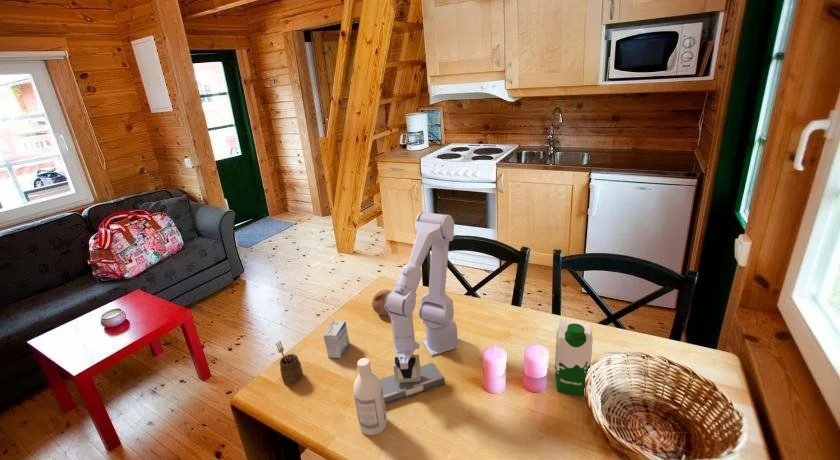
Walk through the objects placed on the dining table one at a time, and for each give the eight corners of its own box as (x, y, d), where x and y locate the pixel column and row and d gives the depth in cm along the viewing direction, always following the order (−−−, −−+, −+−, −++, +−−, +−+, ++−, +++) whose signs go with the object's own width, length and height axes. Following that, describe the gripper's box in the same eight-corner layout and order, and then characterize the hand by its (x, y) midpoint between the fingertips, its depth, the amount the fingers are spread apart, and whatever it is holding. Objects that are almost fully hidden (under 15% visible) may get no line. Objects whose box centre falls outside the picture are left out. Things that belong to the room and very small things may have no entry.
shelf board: (432, 364, 121) (432, 357, 120) (445, 384, 113) (444, 377, 112) (368, 385, 115) (367, 378, 115) (376, 408, 107) (375, 401, 106)
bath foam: (373, 409, 107) (364, 348, 100) (392, 422, 103) (384, 359, 95) (354, 427, 102) (342, 364, 95) (373, 441, 98) (362, 376, 90)
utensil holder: (292, 388, 117) (284, 354, 112) (278, 381, 120) (269, 348, 115) (307, 375, 121) (300, 342, 117) (293, 368, 124) (285, 336, 120)
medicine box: (340, 358, 127) (336, 336, 124) (327, 357, 128) (323, 335, 125) (349, 342, 134) (345, 321, 131) (337, 342, 135) (333, 320, 132)
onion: (382, 325, 147) (372, 310, 140) (374, 307, 154) (364, 292, 147) (405, 311, 148) (395, 296, 141) (396, 294, 155) (386, 279, 148)
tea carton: (396, 372, 117) (394, 355, 114) (420, 371, 116) (419, 354, 114) (395, 383, 113) (393, 366, 110) (420, 381, 112) (418, 364, 110)
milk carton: (553, 393, 107) (557, 331, 100) (554, 370, 115) (558, 311, 108) (588, 400, 105) (595, 336, 97) (587, 375, 112) (593, 315, 105)
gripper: (417, 348, 102) (421, 390, 107) (418, 315, 115) (421, 353, 120) (390, 350, 102) (395, 391, 107) (393, 316, 115) (398, 355, 121)
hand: (407, 371), depth 114 cm, fingers closed on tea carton, 4 cm apart
